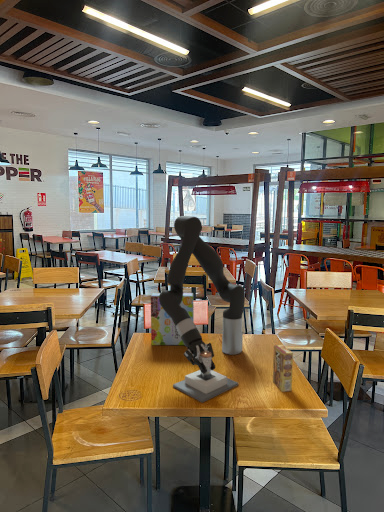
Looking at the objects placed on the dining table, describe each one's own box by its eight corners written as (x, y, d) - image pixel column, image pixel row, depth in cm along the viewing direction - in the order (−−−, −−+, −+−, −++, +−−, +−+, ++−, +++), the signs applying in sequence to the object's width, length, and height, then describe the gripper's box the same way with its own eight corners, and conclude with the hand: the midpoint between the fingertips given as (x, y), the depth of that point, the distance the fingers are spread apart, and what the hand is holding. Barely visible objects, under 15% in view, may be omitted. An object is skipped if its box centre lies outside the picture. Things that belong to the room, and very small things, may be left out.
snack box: (193, 340, 196) (194, 292, 192) (193, 346, 187) (194, 296, 184) (152, 339, 196) (152, 291, 193) (150, 345, 187) (150, 295, 184)
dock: (209, 372, 157) (209, 363, 157) (238, 385, 146) (238, 375, 145) (173, 386, 143) (173, 377, 143) (202, 402, 132) (202, 392, 131)
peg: (205, 377, 147) (206, 350, 146) (212, 380, 144) (213, 353, 143) (198, 380, 144) (198, 353, 143) (205, 383, 141) (206, 356, 140)
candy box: (292, 391, 141) (294, 352, 139) (281, 392, 140) (283, 353, 138) (281, 380, 150) (283, 344, 148) (271, 381, 149) (273, 345, 147)
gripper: (179, 331, 142) (201, 371, 135) (205, 324, 152) (227, 361, 145) (170, 341, 147) (191, 380, 140) (196, 333, 157) (217, 370, 149)
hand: (209, 370), depth 142 cm, fingers closed on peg, 4 cm apart
